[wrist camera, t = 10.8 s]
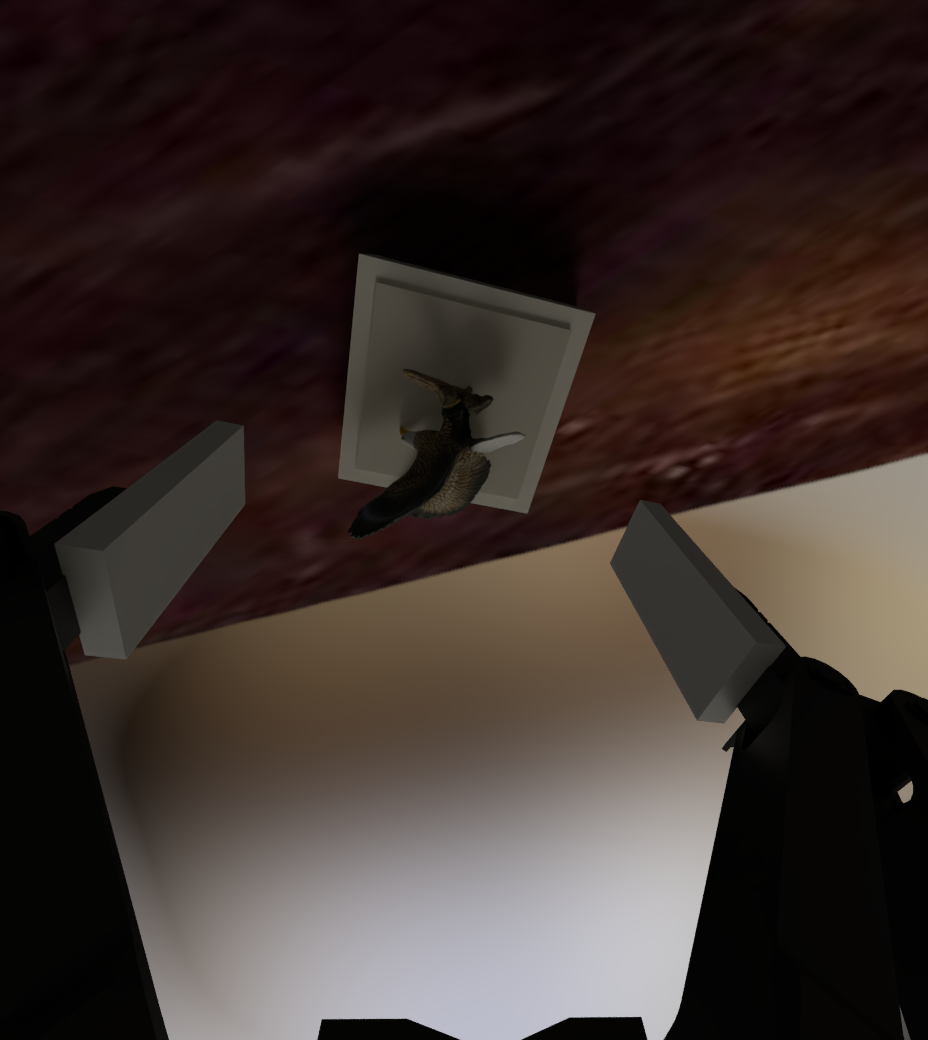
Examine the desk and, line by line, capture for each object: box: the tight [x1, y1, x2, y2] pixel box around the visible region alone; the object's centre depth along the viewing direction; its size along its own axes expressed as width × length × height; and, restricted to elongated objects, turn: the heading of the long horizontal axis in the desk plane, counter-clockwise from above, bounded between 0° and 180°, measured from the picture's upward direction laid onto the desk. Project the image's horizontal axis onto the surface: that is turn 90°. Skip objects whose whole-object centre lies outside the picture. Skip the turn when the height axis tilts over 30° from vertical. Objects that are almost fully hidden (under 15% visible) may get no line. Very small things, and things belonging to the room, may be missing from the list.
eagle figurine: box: [348, 369, 525, 539], centre depth 24 cm, size 8×7×9 cm
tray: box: [338, 254, 595, 513], centre depth 27 cm, size 12×12×4 cm
